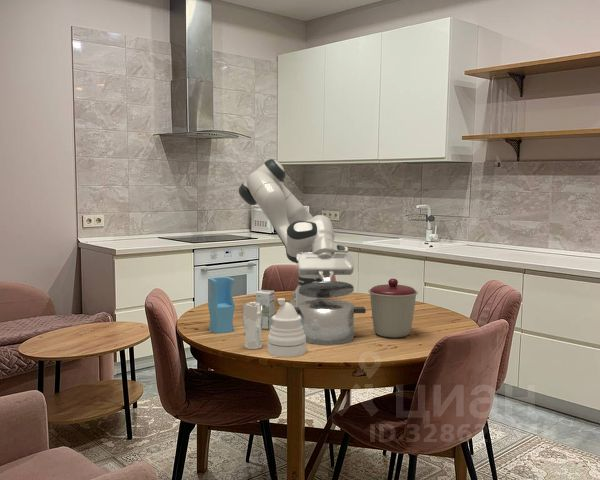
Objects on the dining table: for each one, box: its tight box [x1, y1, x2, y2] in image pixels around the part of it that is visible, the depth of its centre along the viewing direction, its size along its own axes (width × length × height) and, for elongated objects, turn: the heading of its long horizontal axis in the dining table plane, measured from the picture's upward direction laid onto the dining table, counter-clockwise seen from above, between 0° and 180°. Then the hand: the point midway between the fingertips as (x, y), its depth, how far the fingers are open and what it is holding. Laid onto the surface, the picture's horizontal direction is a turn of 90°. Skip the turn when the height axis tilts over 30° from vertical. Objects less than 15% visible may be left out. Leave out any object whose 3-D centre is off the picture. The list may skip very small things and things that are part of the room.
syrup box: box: [255, 289, 275, 331], centre depth 229 cm, size 6×6×14 cm
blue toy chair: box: [207, 276, 236, 334], centre depth 224 cm, size 8×8×20 cm
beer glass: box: [242, 301, 263, 350], centre depth 202 cm, size 7×7×15 cm
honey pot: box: [267, 297, 307, 358], centre depth 197 cm, size 13×13×18 cm
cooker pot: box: [294, 298, 366, 346], centre depth 216 cm, size 22×28×12 cm
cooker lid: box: [299, 280, 355, 299], centre depth 215 cm, size 20×20×3 cm
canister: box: [368, 278, 419, 339], centre depth 219 cm, size 18×18×21 cm
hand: (326, 283), depth 209 cm, fingers closed, pressing on cooker lid
